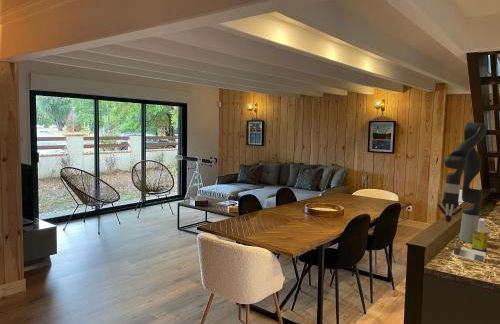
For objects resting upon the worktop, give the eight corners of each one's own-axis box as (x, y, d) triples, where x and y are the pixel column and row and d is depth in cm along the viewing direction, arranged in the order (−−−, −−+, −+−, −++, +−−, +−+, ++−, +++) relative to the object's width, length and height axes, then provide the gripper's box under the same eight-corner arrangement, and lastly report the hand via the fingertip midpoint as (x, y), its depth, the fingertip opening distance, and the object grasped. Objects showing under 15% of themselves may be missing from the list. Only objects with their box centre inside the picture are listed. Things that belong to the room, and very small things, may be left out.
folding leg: (458, 255, 199) (459, 248, 198) (453, 253, 200) (454, 247, 200) (460, 249, 210) (461, 242, 210) (456, 248, 211) (456, 242, 211)
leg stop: (474, 258, 194) (475, 254, 194) (483, 260, 192) (484, 256, 192) (474, 259, 193) (474, 255, 192) (483, 261, 190) (483, 257, 190)
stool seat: (455, 248, 216) (455, 246, 215) (485, 255, 207) (485, 252, 207) (451, 257, 198) (451, 255, 198) (484, 265, 190) (484, 262, 190)
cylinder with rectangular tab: (473, 234, 253) (475, 217, 252) (488, 237, 248) (491, 219, 247) (470, 236, 246) (473, 219, 245) (486, 240, 241) (489, 221, 240)
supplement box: (482, 251, 213) (484, 233, 212) (471, 248, 218) (473, 230, 217) (486, 250, 217) (489, 232, 216) (475, 247, 222) (478, 229, 221)
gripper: (465, 192, 207) (462, 223, 209) (439, 189, 215) (436, 218, 216) (464, 194, 201) (460, 225, 203) (437, 190, 209) (434, 220, 210)
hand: (448, 222), depth 210 cm, fingers closed
